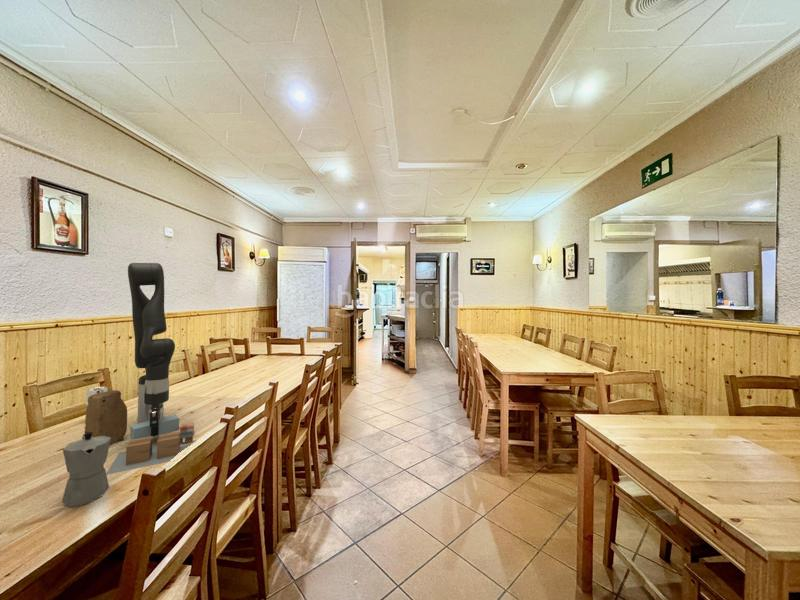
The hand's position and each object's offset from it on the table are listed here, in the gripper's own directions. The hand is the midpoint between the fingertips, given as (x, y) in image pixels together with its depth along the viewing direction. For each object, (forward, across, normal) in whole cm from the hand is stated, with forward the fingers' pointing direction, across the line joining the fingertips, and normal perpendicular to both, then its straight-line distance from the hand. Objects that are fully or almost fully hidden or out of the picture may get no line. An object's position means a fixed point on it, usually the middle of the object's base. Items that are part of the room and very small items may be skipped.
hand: (155, 432), depth 116 cm
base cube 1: (+3, +15, -3) cm, 15 cm away
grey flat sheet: (+3, +14, +1) cm, 14 cm away
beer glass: (+5, -37, -25) cm, 45 cm away
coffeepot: (+3, +30, -12) cm, 33 cm away
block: (+4, -7, -15) cm, 17 cm away
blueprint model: (+3, +9, +9) cm, 13 cm away
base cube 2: (+3, +15, +5) cm, 16 cm away
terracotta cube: (+4, +1, +10) cm, 11 cm away
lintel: (+1, 0, 0) cm, 1 cm away
